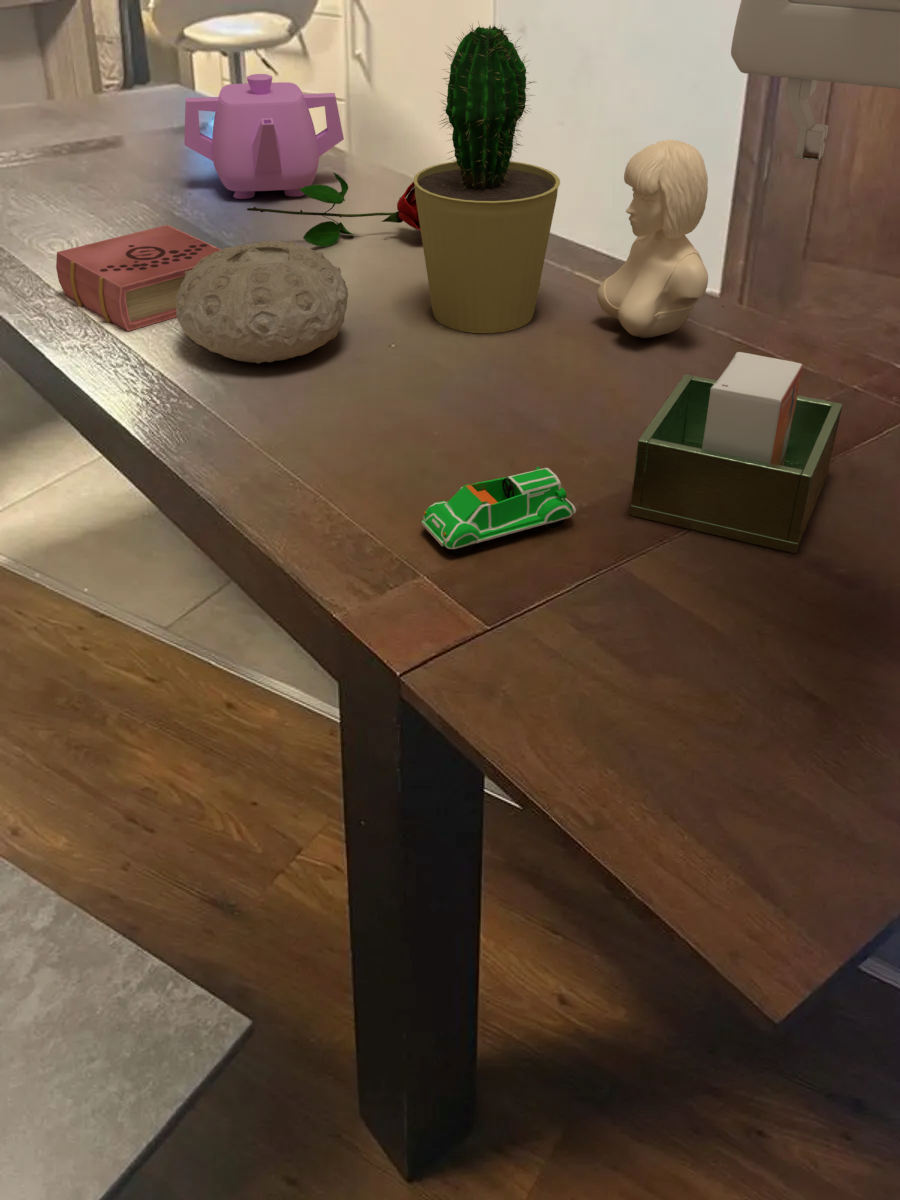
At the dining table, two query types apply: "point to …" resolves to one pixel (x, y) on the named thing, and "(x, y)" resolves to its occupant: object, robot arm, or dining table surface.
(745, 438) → the small box
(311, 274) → the decorative shell
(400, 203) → the flower
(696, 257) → the figurine
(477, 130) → the potted cactus
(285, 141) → the teapot
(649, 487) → the open box
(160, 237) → the book
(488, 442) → the dining table surface
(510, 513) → the toy car
